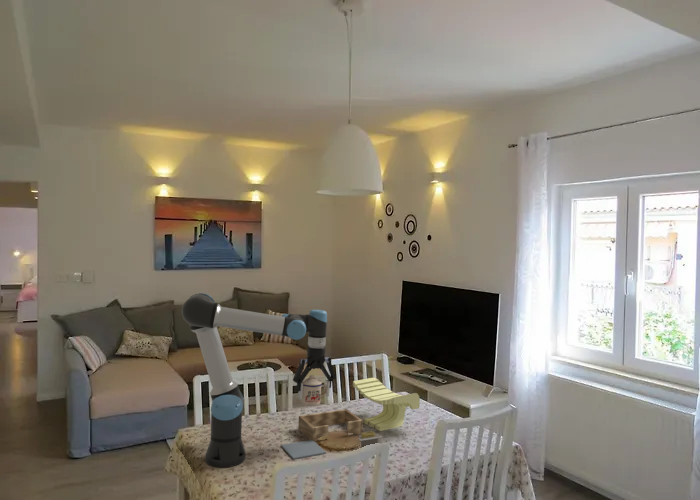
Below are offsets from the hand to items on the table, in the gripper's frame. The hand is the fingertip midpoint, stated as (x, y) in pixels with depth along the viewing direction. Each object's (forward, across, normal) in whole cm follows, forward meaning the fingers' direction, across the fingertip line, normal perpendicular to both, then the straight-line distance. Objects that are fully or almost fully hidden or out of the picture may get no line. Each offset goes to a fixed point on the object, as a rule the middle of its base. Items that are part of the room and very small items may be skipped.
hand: (313, 397), depth 217 cm
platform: (+19, +20, -15) cm, 31 cm away
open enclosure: (+19, +13, +8) cm, 25 cm away
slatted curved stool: (+19, +41, +6) cm, 46 cm away
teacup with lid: (+3, 0, 0) cm, 3 cm away
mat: (+20, -6, -6) cm, 21 cm away
